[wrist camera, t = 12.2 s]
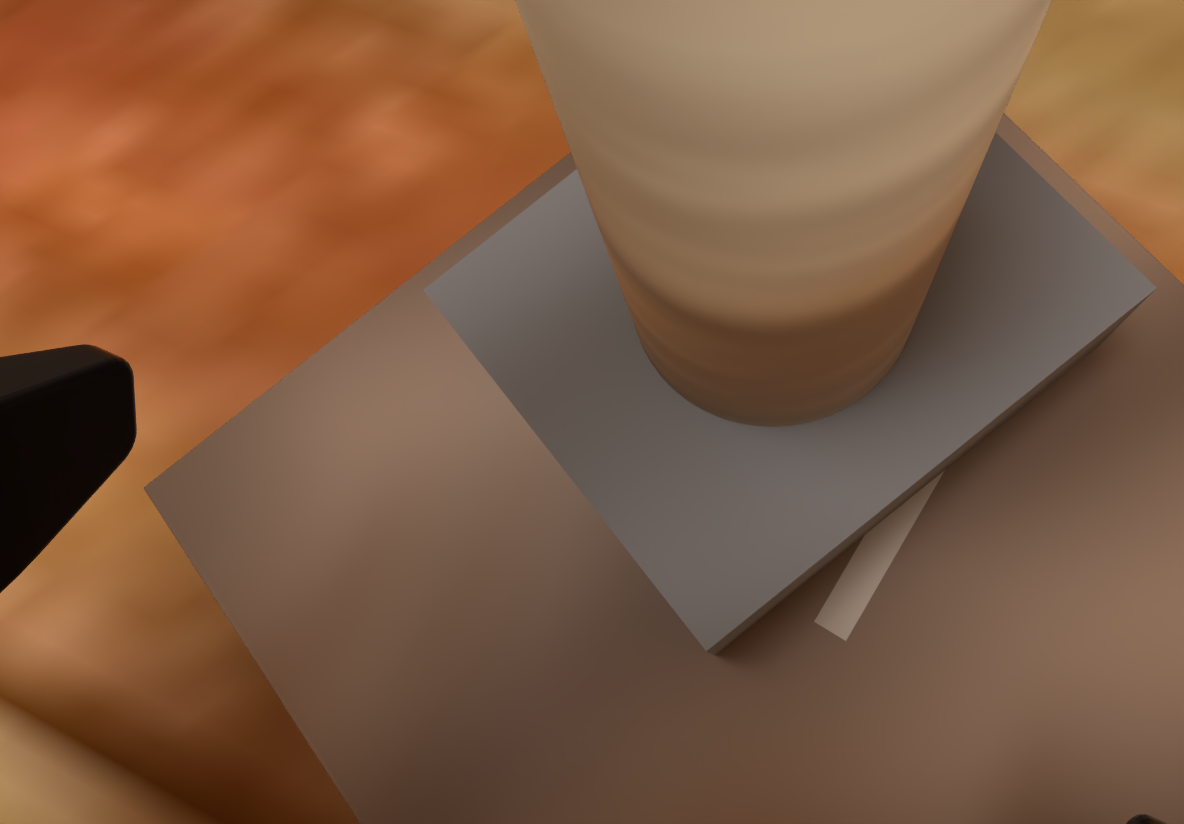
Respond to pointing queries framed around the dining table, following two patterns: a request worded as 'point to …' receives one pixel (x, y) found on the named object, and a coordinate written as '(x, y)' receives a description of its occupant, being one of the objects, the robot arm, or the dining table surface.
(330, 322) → the dining table surface
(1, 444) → the robot arm
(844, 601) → the walnut board
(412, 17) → the dining table surface
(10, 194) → the dining table surface
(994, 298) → the tan and grey post
